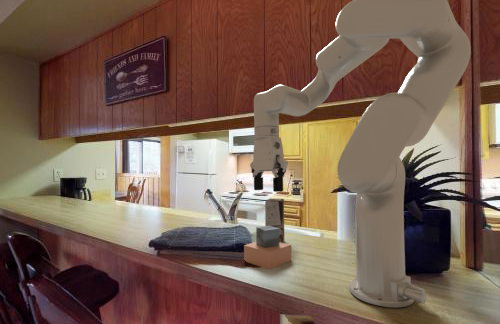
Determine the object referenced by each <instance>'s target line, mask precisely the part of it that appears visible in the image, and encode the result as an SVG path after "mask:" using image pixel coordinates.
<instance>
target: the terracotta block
mask: <svg viewBox="0 0 500 324" xmlns="http://www.w3.org/2000/svg"><path fill="white" fill-rule="evenodd" d="M244 260H245V261H246V263H248V264H251V265H255V266H258V267H261V268H263V269H267V270H272V269H274V268H278V267H280V266H283V265H284V264H286V263H290V262H292V244H289V243H286V242H284V243H281V242H279V246H274V247H268V248H264V247H262V246H260V245H258V244H256V241H254V242H251V243H247V244H244V245H243V261H244ZM245 261H244V262H245Z"/></svg>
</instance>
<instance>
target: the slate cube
mask: <svg viewBox="0 0 500 324" xmlns="http://www.w3.org/2000/svg"><path fill="white" fill-rule="evenodd" d="M255 229H256V231H255V235H256V236H255V237H256V238H255V240H256V241H255V242H256V244H258V245H260V246H262V247H264V248H268V247H274V246H279V228H276V227H273V226H265V225H264V226H258V227H257V226H256V227H255Z"/></svg>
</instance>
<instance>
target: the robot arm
mask: <svg viewBox="0 0 500 324" xmlns="http://www.w3.org/2000/svg"><path fill="white" fill-rule="evenodd" d="M339 11H340V12H339V13H338V15H337V17H336V21H335V30H336V32H337V34H338V36H337V37H335V39H333V40H332V41H331V42H330V43H329V44H328V45H327V46H325V47H324V48H323V49H322V50H320V51H319V52H318V53H317V54H316V56H315V64H316V66H317V68H318V69H317V73H316V76H315V78H314V79H313V80H312V81H311V82H310V83H308V84H307V86H305V87H304V88H303V89H301V90H299V89H297V88H294V87H290V86H287V85H284V84H277V85H275V86H274V87H272V88H269V90H267V91H263V92H259V93H256V94H255V95H254V97H253V119H254V120H253V121H254V122H253V124H254V125H253V127H254V128H253V129H254V131H253V132H254V135H253V136H254V143H253V154H252V155H253V157H252V158H253V159H252V160H253V161H252V162H251V163H250V164H249V167H250V169H251V173H252V178H253V190H254V191H263V190H264V177H263V175H264V172H272V174H273V176H274V177H273V178H272V186H273V187H272V190H273V192H275V193H277V192H283V191H284V177H285V174H286V172H287V167H288V165H289V162H288V161H287V160H286V159H285V157H284V148H283V143H282V142H283V141H282V138H281V137H280V123H279V122H280V118H279V116H280V114H283V115H289V116H291V117H301V116H305V115H307V114H309V113H311V111H313V110H314V109H316V108H317V107H318V106H320V105H321V104H322V103H324V102H325V101H327V99H328V97H329V96H330V94H331V93H332V91H333V90H334V88H335V87H336V85H337V83H338V82H339V81H340V80H341V79H342V78H344V77H346V75H348V74H349V73H351V72H353V70H355V69H356V68H357V67H359V66H360V65H362V64H363V63H364V62H365V61H367V60H368V59H370V58H371V57H372V56H374V55H375V54H377V53H378V52H379V51H381V49H383V48H384V47H385V46H386V45H387V44H388V42H389V41H390V39H399V40H400V41H401V43H403V44H404V46H406V48H407V49H408V50H409V51H410V52H411V53H413V54H414V56H416V57H417V63H416V64H415V65H414V66H413V67H412V69H411V70H410V71H409V72H408V74H407V75H406V76H405V79H404V81H403V83H402V85H401V86H400V87H399V90H398V91H397V92H389V93H386V94H384V95H383V94H382V95H381V96H379V97H377V98H376V99H375V100H373V102H371V103H370V104H369V105H368V107H367V108H366V109H365V110H364V112H363V114H362V115H361V117H360V118H359V120H358V123H357V125H356V126H355V128H354V130H353V131H352V133H351V136H350V137H349V139H348V141H347V143H346V145H345V146H344V149H343V151H342V152H341V154H340V157H339V160H338V162H337V167H336V168H337V170H336V172H337V176H338V180H339V182H340V183H341V185H342V186H343V187H344V188H345V189H346V190H348V191H350V192H351V193H354V194H356V197H355V198H356V199H355V207H354V209H355V210H354V211H355V214H354V215H355V218H354V219H355V221H354V223H355V224H354V225H355V228H354V229H355V259H356V261H355V266H356V267H355V268H356V272H355V273H356V278H354V279H352V280H351V281H350V282H349V291H350V293H351V294H352V295H353V296H354V297H356V298H357V299H359V300H361V301H363V302H365V303H367V304H371V305H375V306H378V307H384V308H395V309H396V308H397V309H398V308H406V307H409V306H411V305H412V304H414V303H415V302H418V303H420V304H422V305H424V304H425V303H426V302H427V294H426V290H425V289H424V288H421V287H420V286H419V287H418V286H414V285H413V284H412V282H411V278H412V277H411V276H410V275H409V276H408V275H406V256H405V252H406V250H405V224H404V223H405V218H404V214H405V213H404V209H405V207H404V205H405V203H404V202H405V186H406V169H405V165H404V163H403V160H402V159H401V158H400V156H401V155H402V153H403V151H405V148H406V147H412V146H415V145H418V144H419V143H420V142H421V141H422V140H423V139H425V137H426V136H427V135H428V133H429V131H430V130H431V128H432V126H433V124H434V122H435V121H436V120H437V118H438V116H439V114H440V113H441V111H442V109H443V108H444V106H445V105H446V103H447V101H449V98H450V95H451V94H452V93H453V91H454V89H455V88H456V87H457V85H458V83H459V82H460V80H461V79H462V77H463V75H464V73H465V71H466V69H467V67H468V65H469V63H470V62H469V61H470V59H471V54H472V51H471V49H472V47H471V43H470V42H471V41H470V39H469V37H468V35H467V33H466V32H465V31H464V30H463V29H462V28H461V26H460V25H459V24H458V22H457V20H456V19H455V15H454V13H453V12H452V9H451V7H450V4H449V0H351V1H349V2H348V3H346V5H344V7H342V9H341V10H339Z"/></svg>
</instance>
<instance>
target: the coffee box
mask: <svg viewBox="0 0 500 324" xmlns="http://www.w3.org/2000/svg"><path fill="white" fill-rule="evenodd" d="M264 207H265V208H264V211H265V217H264V219H265V222H264V223H265V225H264V226H273V227H276V228H279V242H281V243H285V200H284V198H268V199H266V200H265V205H264Z"/></svg>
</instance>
